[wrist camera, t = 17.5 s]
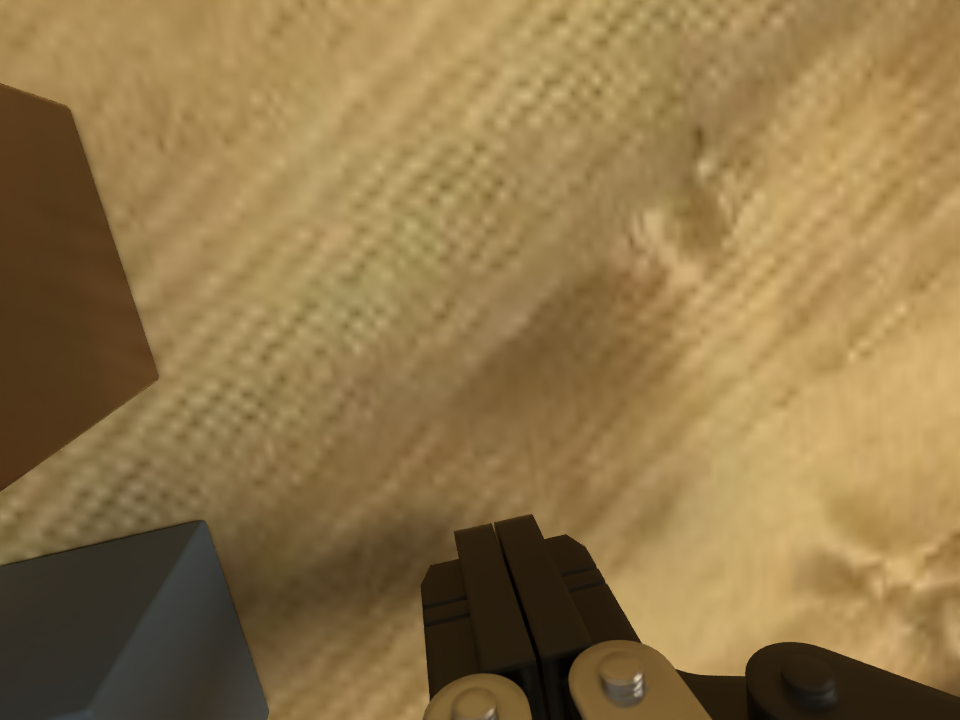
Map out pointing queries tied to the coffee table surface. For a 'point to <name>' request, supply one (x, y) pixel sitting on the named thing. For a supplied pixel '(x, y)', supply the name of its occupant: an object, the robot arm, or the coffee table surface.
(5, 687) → the blue block
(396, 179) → the coffee table surface
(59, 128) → the walnut block
